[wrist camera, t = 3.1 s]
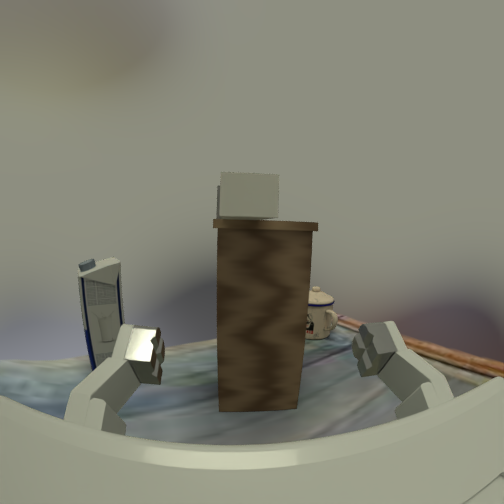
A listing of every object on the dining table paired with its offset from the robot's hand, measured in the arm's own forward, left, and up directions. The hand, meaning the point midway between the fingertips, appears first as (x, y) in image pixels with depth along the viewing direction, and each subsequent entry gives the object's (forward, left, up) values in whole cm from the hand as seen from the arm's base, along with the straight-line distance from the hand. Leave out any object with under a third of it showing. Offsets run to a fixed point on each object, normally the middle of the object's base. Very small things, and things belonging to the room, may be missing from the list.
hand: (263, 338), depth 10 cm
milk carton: (-22, +30, -21) cm, 43 cm away
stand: (+3, +28, -21) cm, 35 cm away
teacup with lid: (+20, +49, -21) cm, 57 cm away
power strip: (0, +22, +5) cm, 22 cm away
